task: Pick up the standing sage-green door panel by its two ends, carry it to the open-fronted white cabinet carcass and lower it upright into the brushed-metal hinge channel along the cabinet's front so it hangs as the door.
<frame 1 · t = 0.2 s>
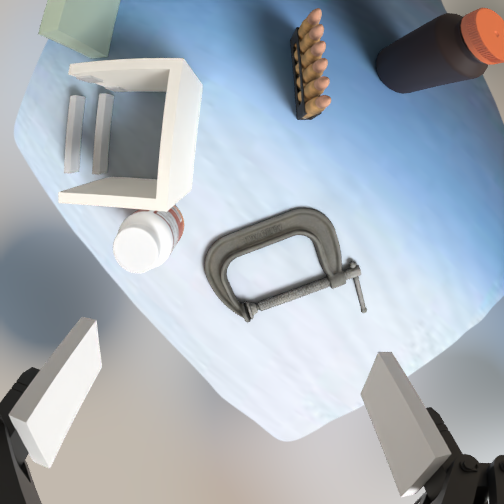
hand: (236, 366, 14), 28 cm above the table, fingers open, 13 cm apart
vinegar: (397, 70, 34), on the table
pill bottle: (162, 222, 40), on the table
door: (107, 21, 31), on the table
c clamp: (287, 275, 43), on the table
ammunition clip: (301, 78, 35), on the table
cabinet: (149, 134, 36), on the table
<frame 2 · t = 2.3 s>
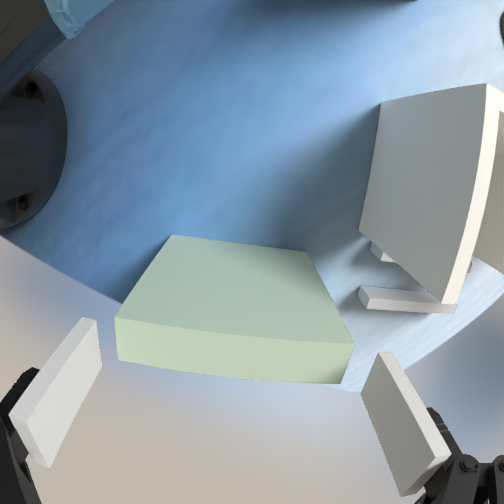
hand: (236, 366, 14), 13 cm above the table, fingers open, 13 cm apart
door: (237, 257, 26), on the table
cabinet: (433, 189, 25), on the table
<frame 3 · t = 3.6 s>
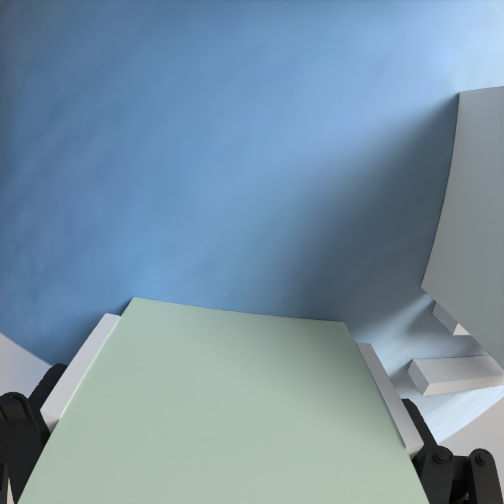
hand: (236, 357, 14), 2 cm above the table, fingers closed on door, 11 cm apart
door: (237, 332, 16), on the table, touching gripper
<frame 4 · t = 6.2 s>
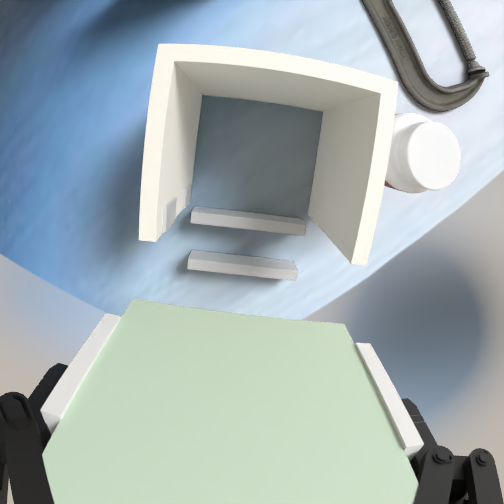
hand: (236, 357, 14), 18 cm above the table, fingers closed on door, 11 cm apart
pill bottle: (372, 148, 29), on the table
door: (237, 334, 16), point 15 cm above the table, touching gripper
c clamp: (433, 24, 24), on the table
cabinet: (256, 154, 28), on the table
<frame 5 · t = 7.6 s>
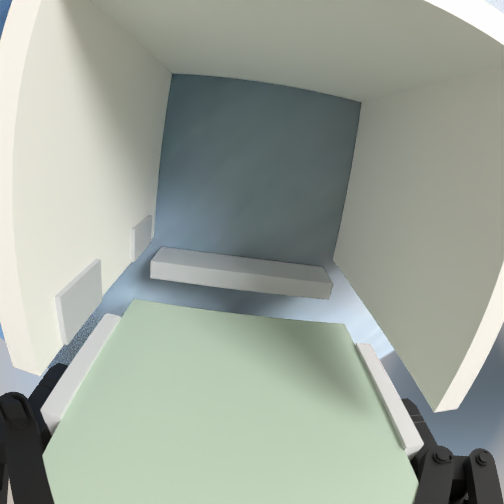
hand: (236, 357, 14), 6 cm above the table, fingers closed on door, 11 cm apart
door: (237, 334, 16), point 4 cm above the table, touching gripper
cabinet: (256, 167, 18), on the table
when the fingers open (3 cm above the table, at t = 8.9 s): door drops 1 cm, on the table.
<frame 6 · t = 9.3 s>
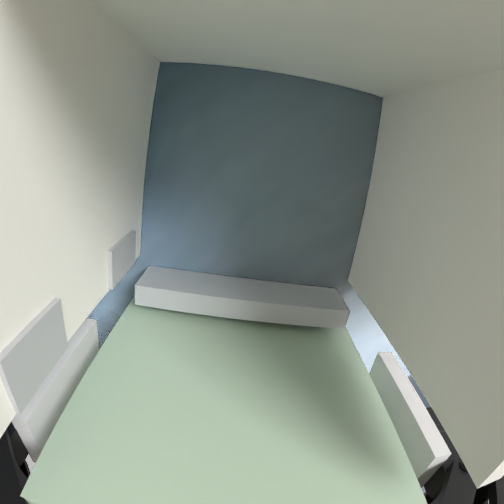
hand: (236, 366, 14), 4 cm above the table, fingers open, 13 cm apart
door: (236, 321, 18), on the table
cabinet: (259, 173, 15), on the table
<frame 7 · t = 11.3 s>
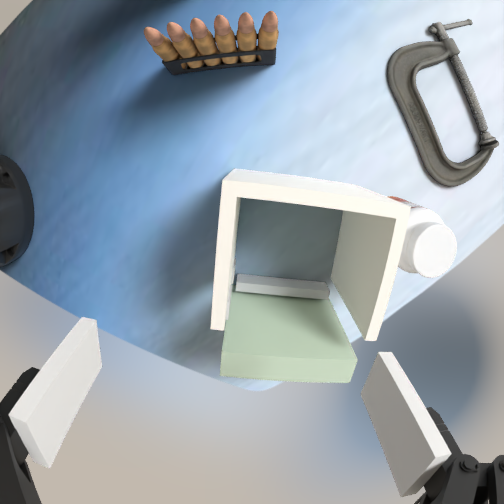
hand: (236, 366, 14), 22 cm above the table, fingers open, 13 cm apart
pill bottle: (386, 221, 34), on the table
door: (278, 299, 37), on the table
c clamp: (451, 98, 30), on the table
ammunition clip: (222, 60, 29), on the table
cabinet: (289, 231, 34), on the table
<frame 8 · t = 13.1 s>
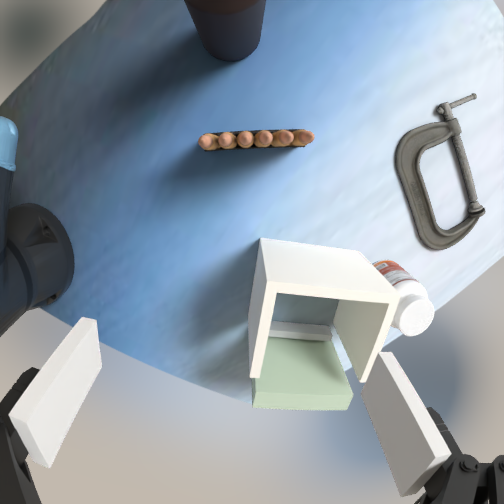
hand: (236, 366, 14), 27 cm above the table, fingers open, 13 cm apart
vinegar: (231, 37, 32), on the table
pill bottle: (381, 278, 42), on the table
door: (290, 338, 45), on the table
c clamp: (448, 172, 38), on the table
ammunition clip: (253, 140, 36), on the table
cabinet: (302, 288, 42), on the table
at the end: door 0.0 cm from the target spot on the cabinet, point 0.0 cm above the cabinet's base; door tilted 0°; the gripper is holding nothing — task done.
